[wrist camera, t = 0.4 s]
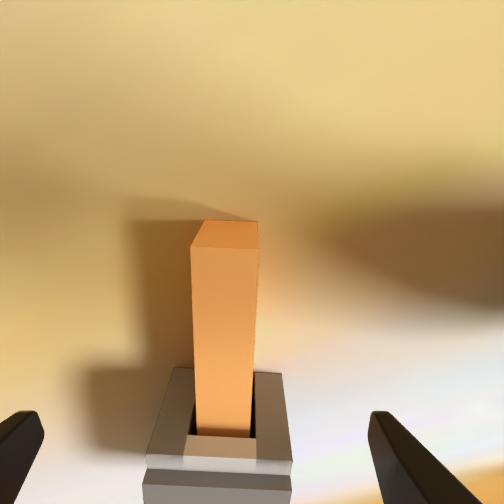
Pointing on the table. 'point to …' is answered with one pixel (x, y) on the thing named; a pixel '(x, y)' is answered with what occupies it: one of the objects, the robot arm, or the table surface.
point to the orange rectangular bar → (224, 325)
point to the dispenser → (219, 450)
